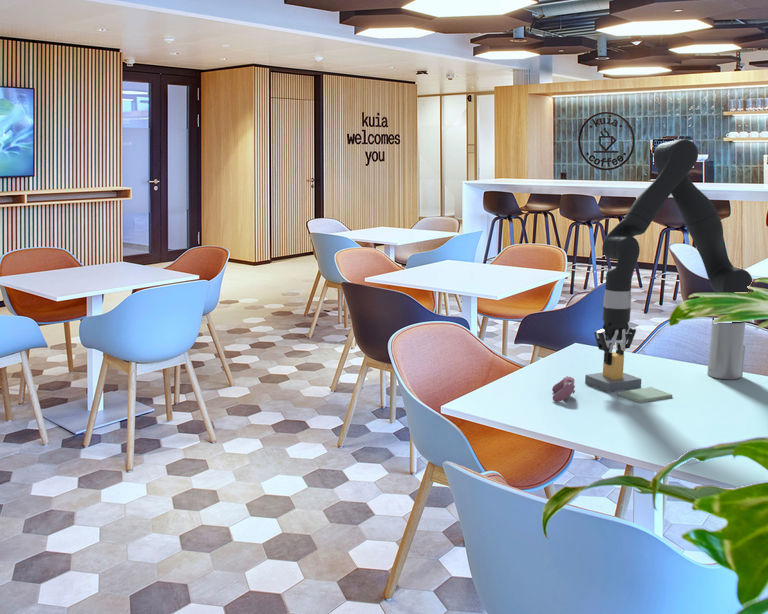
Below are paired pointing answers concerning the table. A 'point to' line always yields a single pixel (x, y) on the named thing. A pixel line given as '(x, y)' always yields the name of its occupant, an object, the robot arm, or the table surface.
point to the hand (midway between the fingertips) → (613, 363)
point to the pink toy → (563, 389)
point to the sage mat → (645, 394)
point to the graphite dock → (612, 382)
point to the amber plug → (614, 367)
